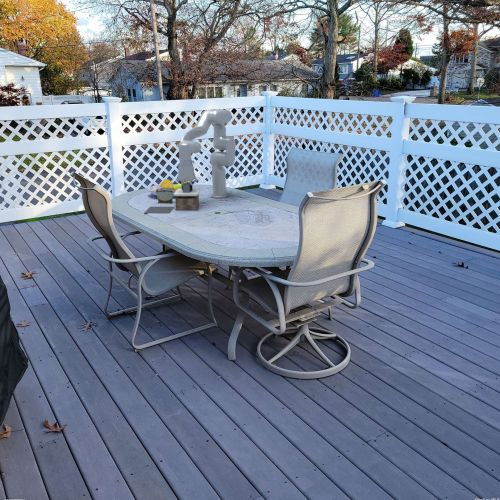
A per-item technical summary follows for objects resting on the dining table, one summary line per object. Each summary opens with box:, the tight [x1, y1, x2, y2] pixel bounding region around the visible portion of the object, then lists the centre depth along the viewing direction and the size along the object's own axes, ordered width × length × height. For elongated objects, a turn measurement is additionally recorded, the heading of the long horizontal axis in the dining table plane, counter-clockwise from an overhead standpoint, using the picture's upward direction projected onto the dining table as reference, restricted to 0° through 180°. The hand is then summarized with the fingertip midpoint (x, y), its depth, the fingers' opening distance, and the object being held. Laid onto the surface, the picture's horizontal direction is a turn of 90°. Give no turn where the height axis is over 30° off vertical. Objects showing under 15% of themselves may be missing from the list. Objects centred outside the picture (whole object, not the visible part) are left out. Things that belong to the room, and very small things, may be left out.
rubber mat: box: [143, 206, 175, 215], centre depth 309 cm, size 16×16×1 cm
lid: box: [174, 181, 202, 197], centre depth 310 cm, size 15×15×6 cm
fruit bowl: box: [147, 178, 189, 198], centre depth 347 cm, size 28×27×11 cm
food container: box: [156, 188, 174, 204], centre depth 327 cm, size 12×6×10 cm, turn 84°
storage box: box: [174, 193, 200, 211], centre depth 313 cm, size 13×13×8 cm
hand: (187, 190), depth 311 cm, fingers closed on lid, 4 cm apart
